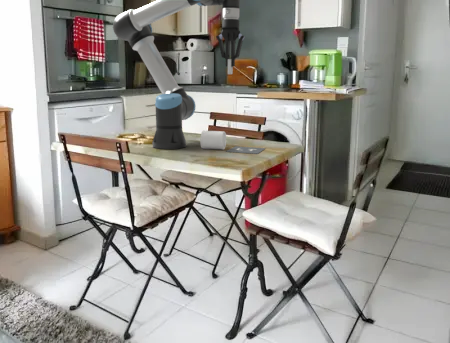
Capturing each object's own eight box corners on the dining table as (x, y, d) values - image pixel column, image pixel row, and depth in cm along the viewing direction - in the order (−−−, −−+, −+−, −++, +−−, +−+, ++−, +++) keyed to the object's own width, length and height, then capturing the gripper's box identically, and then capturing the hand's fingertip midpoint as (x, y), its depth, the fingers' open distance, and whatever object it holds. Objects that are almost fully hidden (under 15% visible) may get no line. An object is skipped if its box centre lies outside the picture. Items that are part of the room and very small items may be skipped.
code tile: (225, 151, 192) (225, 151, 192) (235, 146, 205) (235, 146, 205) (257, 154, 188) (257, 153, 188) (265, 148, 201) (265, 148, 201)
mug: (222, 151, 194) (222, 132, 192) (200, 149, 196) (200, 131, 194) (228, 146, 206) (228, 129, 204) (207, 145, 208) (207, 128, 206)
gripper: (214, 18, 195) (213, 74, 200) (242, 17, 191) (241, 74, 196) (219, 20, 202) (219, 73, 207) (247, 19, 198) (246, 74, 203)
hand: (230, 74), depth 202 cm, fingers closed
